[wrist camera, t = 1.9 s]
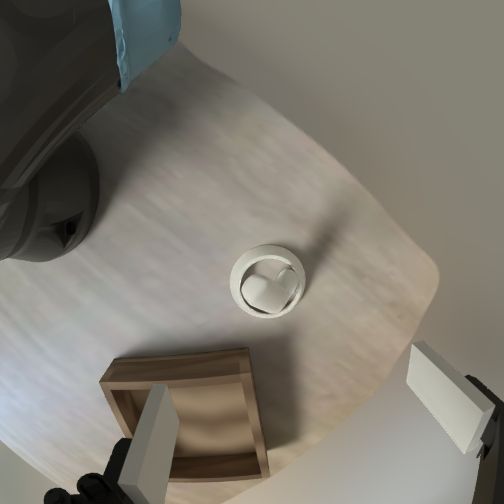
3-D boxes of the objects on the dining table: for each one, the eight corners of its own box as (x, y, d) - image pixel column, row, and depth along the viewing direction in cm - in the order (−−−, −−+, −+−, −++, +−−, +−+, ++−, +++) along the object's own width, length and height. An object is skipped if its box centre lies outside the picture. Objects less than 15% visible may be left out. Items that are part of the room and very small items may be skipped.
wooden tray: (113, 359, 31) (98, 382, 26) (248, 347, 32) (250, 372, 27) (157, 457, 35) (152, 481, 30) (266, 451, 35) (270, 477, 30)
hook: (219, 198, 23) (297, 232, 20) (267, 244, 34) (322, 271, 31) (171, 281, 23) (242, 329, 20) (234, 302, 34) (287, 334, 30)
